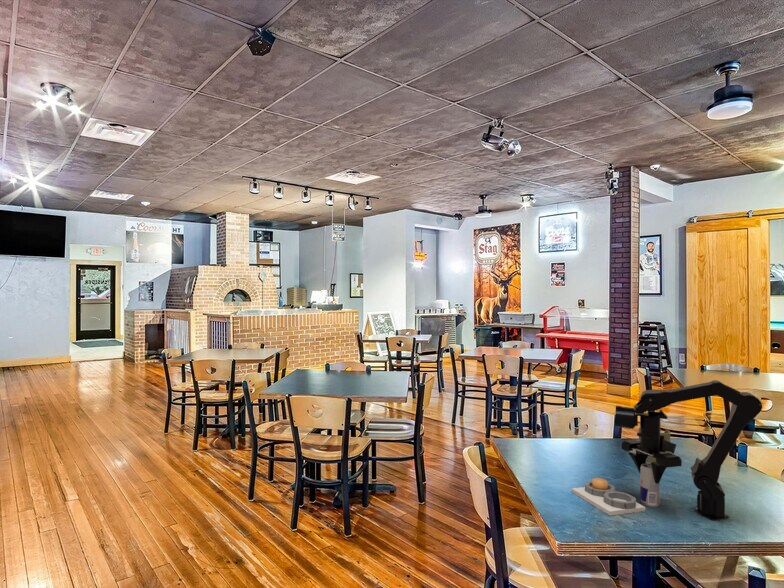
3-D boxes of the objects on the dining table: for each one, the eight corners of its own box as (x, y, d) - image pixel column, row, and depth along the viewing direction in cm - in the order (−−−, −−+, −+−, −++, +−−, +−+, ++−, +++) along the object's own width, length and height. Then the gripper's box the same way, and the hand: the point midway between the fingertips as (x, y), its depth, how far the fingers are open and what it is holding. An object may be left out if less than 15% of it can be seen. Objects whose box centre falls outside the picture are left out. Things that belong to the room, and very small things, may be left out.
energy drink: (642, 498, 154) (642, 461, 154) (661, 503, 151) (661, 465, 151) (638, 504, 150) (638, 466, 150) (657, 509, 146) (657, 470, 147)
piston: (665, 435, 186) (634, 429, 194) (665, 466, 186) (634, 459, 193) (673, 430, 194) (643, 425, 202) (673, 459, 194) (643, 453, 202)
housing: (645, 511, 145) (645, 495, 145) (609, 515, 141) (609, 499, 142) (604, 488, 162) (604, 474, 162) (571, 492, 159) (571, 477, 159)
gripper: (696, 437, 144) (696, 489, 143) (647, 422, 162) (647, 467, 161) (666, 439, 141) (666, 492, 141) (620, 423, 159) (620, 470, 159)
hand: (649, 480), depth 150 cm, fingers closed on energy drink, 5 cm apart
